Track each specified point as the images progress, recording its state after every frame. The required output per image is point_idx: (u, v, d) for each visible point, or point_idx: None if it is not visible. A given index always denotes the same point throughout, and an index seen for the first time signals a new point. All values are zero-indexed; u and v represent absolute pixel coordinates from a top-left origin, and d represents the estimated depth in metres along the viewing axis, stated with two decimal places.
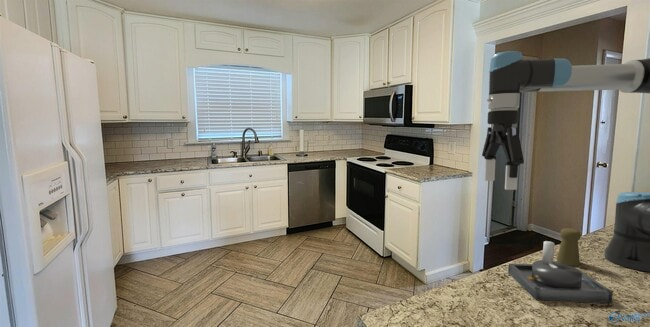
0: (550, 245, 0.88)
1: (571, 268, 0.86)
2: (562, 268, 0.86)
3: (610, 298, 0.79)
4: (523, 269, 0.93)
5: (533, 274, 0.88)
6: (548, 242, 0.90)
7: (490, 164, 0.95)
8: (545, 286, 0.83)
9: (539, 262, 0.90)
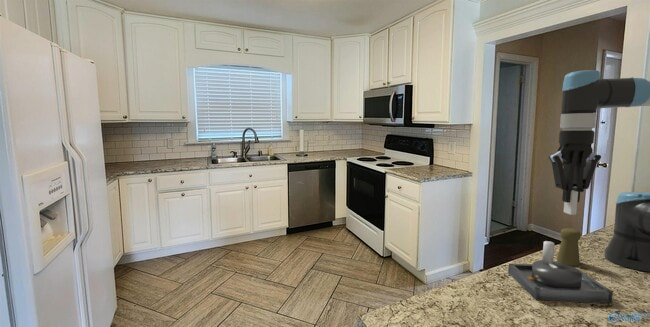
0: (550, 245, 0.88)
1: (571, 268, 0.86)
2: (562, 268, 0.86)
3: (610, 298, 0.79)
4: (523, 269, 0.93)
5: (533, 274, 0.88)
6: (548, 242, 0.90)
7: None
8: (545, 286, 0.83)
9: (539, 262, 0.90)
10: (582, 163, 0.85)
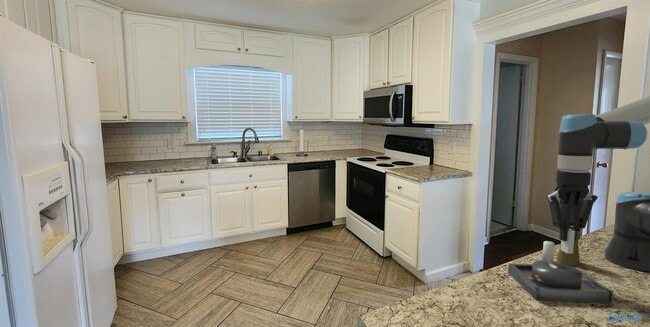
0: (550, 245, 0.88)
1: (571, 268, 0.86)
2: (562, 268, 0.86)
3: (610, 298, 0.79)
4: (523, 269, 0.93)
5: (533, 274, 0.88)
6: (548, 242, 0.90)
7: None
8: (545, 286, 0.83)
9: (539, 262, 0.90)
10: (579, 204, 0.86)
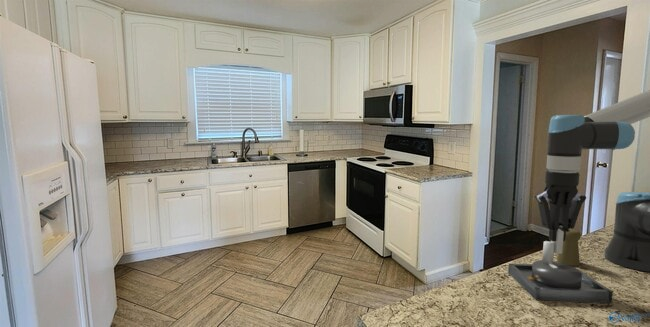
0: (550, 245, 0.88)
1: (571, 268, 0.86)
2: (562, 268, 0.86)
3: (610, 298, 0.79)
4: (523, 269, 0.93)
5: (533, 274, 0.88)
6: (548, 242, 0.90)
7: None
8: (545, 286, 0.83)
9: (539, 262, 0.90)
10: (567, 204, 0.86)
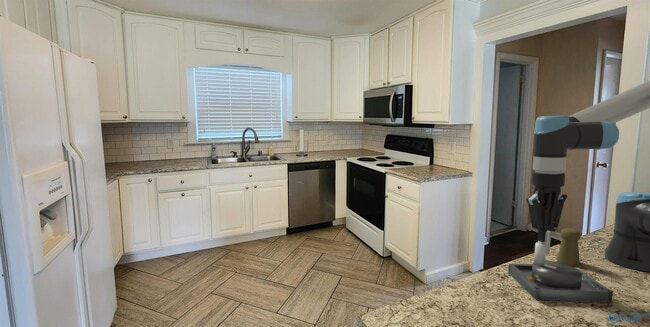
0: (545, 247, 0.87)
1: (559, 264, 0.89)
2: (556, 266, 0.88)
3: (610, 298, 0.79)
4: (523, 269, 0.93)
5: (546, 282, 0.84)
6: (540, 244, 0.89)
7: None
8: (545, 286, 0.83)
9: (537, 266, 0.88)
10: (554, 204, 0.87)
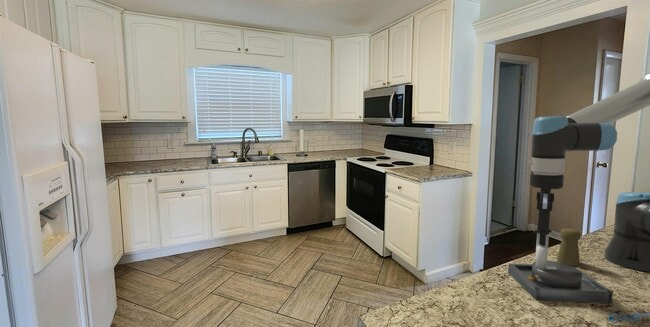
0: (547, 249, 0.86)
1: (547, 262, 0.90)
2: (551, 265, 0.88)
3: (610, 298, 0.79)
4: (523, 269, 0.93)
5: (564, 286, 0.81)
6: (541, 247, 0.86)
7: None
8: (545, 286, 0.83)
9: (545, 271, 0.85)
10: None
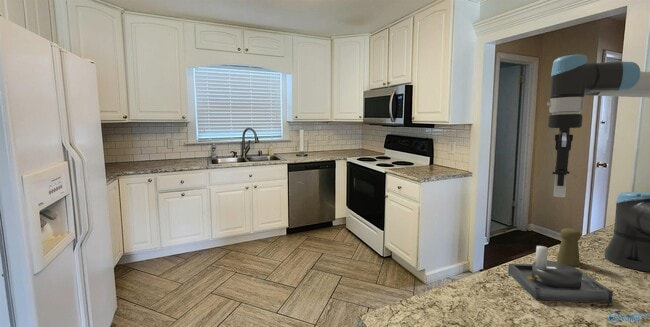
0: (547, 249, 0.86)
1: (547, 262, 0.90)
2: (551, 265, 0.88)
3: (610, 298, 0.79)
4: (523, 269, 0.93)
5: (564, 286, 0.81)
6: (541, 247, 0.86)
7: None
8: (545, 286, 0.83)
9: (545, 271, 0.85)
10: None
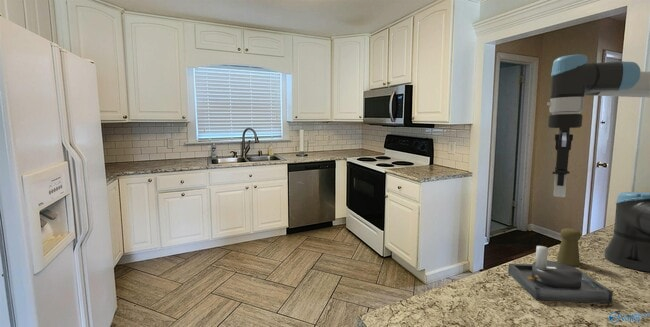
0: (547, 249, 0.86)
1: (547, 262, 0.90)
2: (551, 265, 0.88)
3: (610, 298, 0.79)
4: (523, 269, 0.93)
5: (564, 286, 0.81)
6: (541, 247, 0.86)
7: None
8: (545, 286, 0.83)
9: (545, 271, 0.85)
10: None
